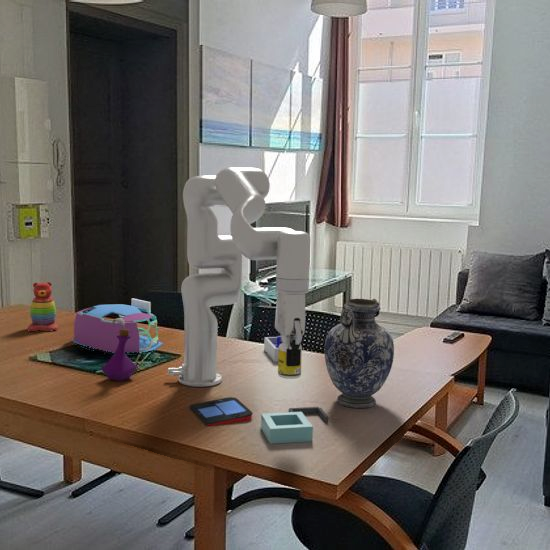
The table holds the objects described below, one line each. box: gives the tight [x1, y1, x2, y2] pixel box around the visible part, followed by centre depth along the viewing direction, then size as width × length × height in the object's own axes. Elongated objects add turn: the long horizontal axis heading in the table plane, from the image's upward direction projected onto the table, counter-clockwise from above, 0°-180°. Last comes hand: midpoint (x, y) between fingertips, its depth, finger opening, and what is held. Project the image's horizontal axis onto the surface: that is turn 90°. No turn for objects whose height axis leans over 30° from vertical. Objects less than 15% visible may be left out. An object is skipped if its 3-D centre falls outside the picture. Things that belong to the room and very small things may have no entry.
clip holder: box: [263, 336, 279, 363], centre depth 229 cm, size 8×16×4 cm, turn 13°
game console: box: [189, 396, 253, 427], centre depth 172 cm, size 14×13×2 cm
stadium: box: [71, 298, 164, 353], centre depth 238 cm, size 35×24×14 cm
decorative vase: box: [324, 298, 395, 409], centre depth 182 cm, size 21×19×28 cm
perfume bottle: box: [101, 317, 138, 382], centre depth 196 cm, size 8×8×18 cm
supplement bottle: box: [277, 333, 303, 380], centre depth 157 cm, size 5×5×10 cm
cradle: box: [287, 406, 329, 423], centre depth 170 cm, size 9×7×2 cm
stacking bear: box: [26, 282, 59, 332], centre depth 256 cm, size 11×10×18 cm
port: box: [260, 411, 314, 445], centre depth 159 cm, size 10×10×4 cm
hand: (289, 361), depth 157 cm, fingers closed on supplement bottle, 5 cm apart
